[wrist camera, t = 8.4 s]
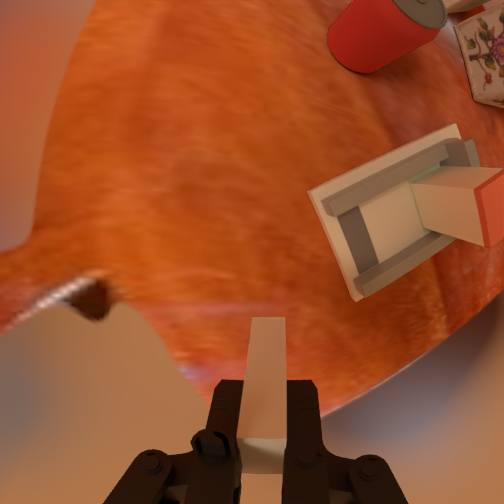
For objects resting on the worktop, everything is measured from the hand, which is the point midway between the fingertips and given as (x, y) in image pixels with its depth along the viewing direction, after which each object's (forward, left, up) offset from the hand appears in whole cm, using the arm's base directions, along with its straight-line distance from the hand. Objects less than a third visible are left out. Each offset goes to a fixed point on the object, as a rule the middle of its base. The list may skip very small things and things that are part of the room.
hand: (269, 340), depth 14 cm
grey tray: (-15, +10, -14) cm, 23 cm away
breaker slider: (-18, +11, -13) cm, 25 cm away
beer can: (-24, -5, -15) cm, 29 cm away
